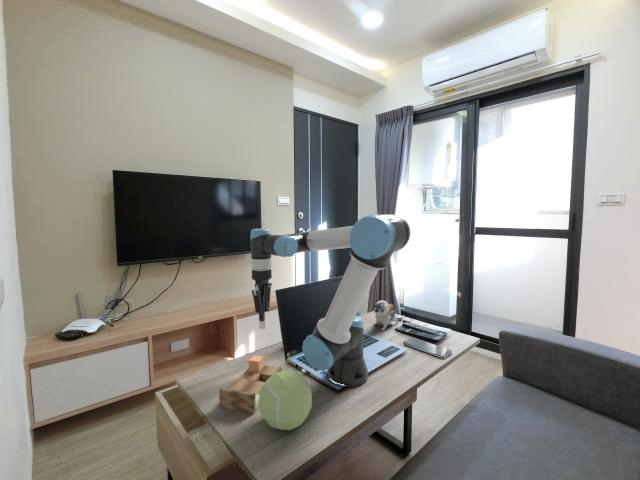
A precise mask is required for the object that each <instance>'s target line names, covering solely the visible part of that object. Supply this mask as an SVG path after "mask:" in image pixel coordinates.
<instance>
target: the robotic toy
mask: <svg viewBox="0 0 640 480" xmlns="http://www.w3.org/2000/svg"><path fill="white" fill-rule="evenodd" d="M395 307H396V308H398V306H396V305H394V304H393V303H388V302H387V301H386V300H379V301H377V302H374V303H373V308H374V309H373V314H375V315H374V317H375V322H374V323H373V326H374V327H375V326H377V325H381V326H382V328H381V329H380V330H381V331H385V330H386V329H387V326H390V325H391V323H392V322H395V324H396V326H397V325H399V320H398V318H396V317H397V316H396V313H397V311H396V310H395V309H394V308H395ZM398 314H400V311H398Z"/></svg>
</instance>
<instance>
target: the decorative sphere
mask: <svg viewBox="0 0 640 480" xmlns="http://www.w3.org/2000/svg"><path fill="white" fill-rule="evenodd" d="M312 407H313V393H312V387H311V385H310V384H309V382H308V380H307V379H306V378H305V377H304V376H303V374H301V373H299V372H298V371H295V370H294V371H293V370H290V369H285V370H282V371H281V372H278V373H275V374H273V375H272V376H271V377H269V378H268V379H267V380H266V382H265V383H264V384H263V386H262V389H261V391H260V396H259V408H258V410H259V413H260V414H261V416H262V417H263V419H264V420H265V421H266V422H267V424H268V425H269V427H271V428H272V429H278V430H283V431H292V430H293V429H297V427H299V426H301V425H302V424H303V423H304V422H305V421H306V419H307V418H308V416H309V413H310V412H311V409H312Z"/></svg>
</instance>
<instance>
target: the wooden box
mask: <svg viewBox="0 0 640 480" xmlns="http://www.w3.org/2000/svg"><path fill="white" fill-rule="evenodd" d="M281 371H283V368H282V367H281V366H274V365H265V364H264V367H263V368H262V369H261V370H260V371H259V372H255V371H249V367H248V368H247V369H246V370H245V372H243V374H242V375H240V377H239V378H238V379H236V381H234V383H233V384H232V385H231V386H230V387H229V388H224V387H223V388H222V387H220V388H219V390H218V395H219V396H218V397H219V408H220V409H225V410H232V411H237V412H242V413H249V414H253V415H254V414H256V412H258V410H259V396H260V391H261V389H262V386H263V384H264V383H265V382H266V380H267V379H268V378H269V377H271V376H272V375H273V374H275V373H278V372H281Z"/></svg>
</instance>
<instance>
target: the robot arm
mask: <svg viewBox="0 0 640 480" xmlns="http://www.w3.org/2000/svg"><path fill="white" fill-rule="evenodd" d="M410 237H411V229H410V225H409V223H408V222H407V220H405V219H404V217H402V216H401V215H398V214H394V213H388V214H377V213H376V214H369V215H367V216H364V217H361V218H360V219H358V220H357V221H356V222H355V223H354V224H353V225H350V226H349V225H347V226H343V227H341V226H340V227H333V228H327V229H320V230H311V231H305V232H304V231H303V232H297V233H296V232H295V233H288V234H272V233H271V229H269V228H253V229H251V231H250V240H249V241H250V257H251V260H250V263H251V279H252V280H253V281H254V289H252V290H251V294H252V298H253V304H254V310H255V313H257V314H258V327H259V328H258V329H262V330H266V329H268V312H269V311H270V309H269V308H270V304H271V291H272V290H271V288H272V282H270V280H271V279H272V277H273V276H272V272H273V271H272V269H271V268H272V256H278V257H283V258H285V257H287V258H288V257H289V258H290V257H293V256H294V255H295V254H297V253H305V252H314V251H329V250H336V249H337V250H338V249H340V250H341V249H348V248H349V251H348V252H349V253H348V254H349V255H350V257H351V258H350V261H349V263H348V265H347V267H346V269H345V272H344V274H343V277H342V279H341V280H340V282H339V286H338V287H337V290H336V292H335V295H334V297H333V298H332V300H331V303H330V305H329V308H328V310H327V312H326V315H325V317H322V318H320V319H319V320H318V322H317V323H316V326H315V328H314V330H313V332H312V334H309V335H307V336H306V339H305V340H304V341H303V345H302V346H301V347H302V354H303V355H304V358H305V360H306V362H307V363H308V364H309V365H310V366H311V367H312V368H313V369H315V370H316V371H326V370H327V371H326V372H327V374H328V376H329V378H331V379H332V380H333V381H335V382H337V383H340V384H344V385H346V388H347V387H348V388H350V387H351V388H352V387H354V388H355V387H357V386H361V385H363V384H365V383H366V382H367V380H368V378H369V371H368V367H367V364H366V360H365V358H364V357H365V356H364V328H365V327H364V320H363V318H362V317H361V316H359V315H358V313H359V310H360V308H361V307H362V304H363V302H364V301H365V299H366V296H367V294H368V292H369V290H370V288H371V286H372V284H373V282H374V279H375V278H376V276H377V274H378V272H379V271H382V270H384V269H386V267H387V266H388V264H389V262H390V259H391V258H392V257H393V254H394V252H398V251H400V250H402V249H403V248H404V247H405V246H406V245H407V244H408V242H409V240H410ZM328 376H327V377H328Z"/></svg>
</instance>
